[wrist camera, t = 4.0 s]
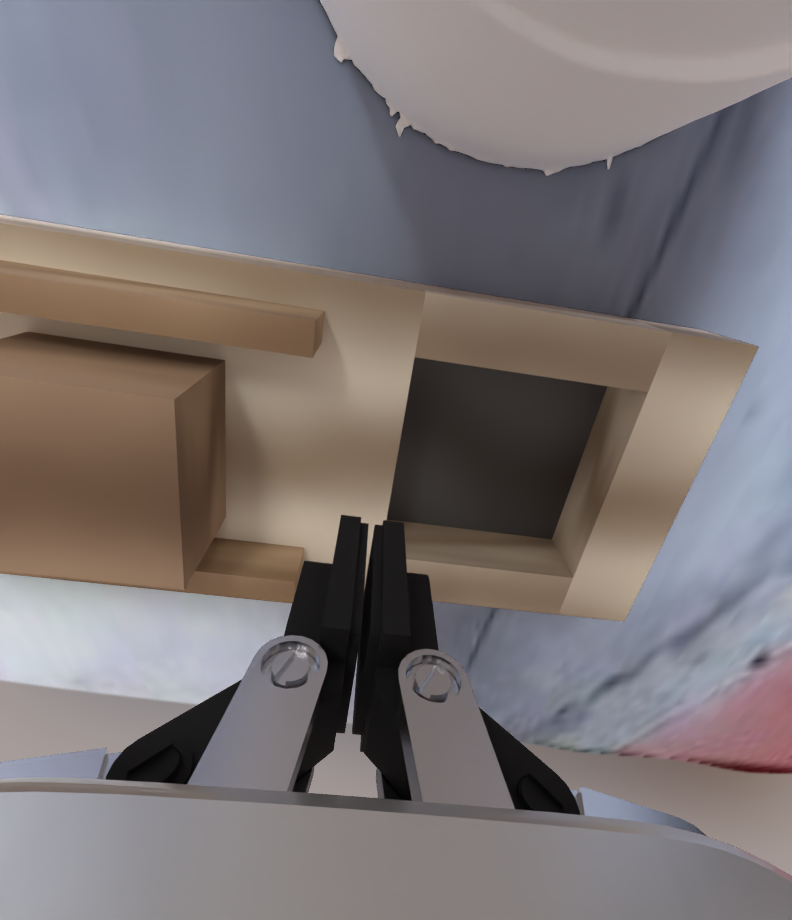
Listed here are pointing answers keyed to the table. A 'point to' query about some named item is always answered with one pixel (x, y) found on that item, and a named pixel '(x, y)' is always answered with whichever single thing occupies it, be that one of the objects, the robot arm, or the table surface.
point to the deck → (404, 415)
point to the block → (109, 460)
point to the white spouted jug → (561, 69)
